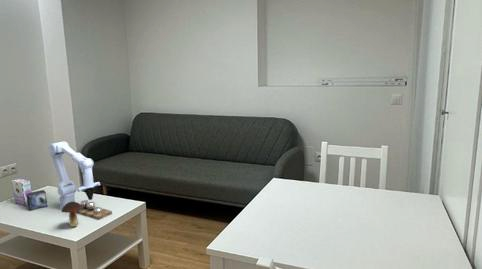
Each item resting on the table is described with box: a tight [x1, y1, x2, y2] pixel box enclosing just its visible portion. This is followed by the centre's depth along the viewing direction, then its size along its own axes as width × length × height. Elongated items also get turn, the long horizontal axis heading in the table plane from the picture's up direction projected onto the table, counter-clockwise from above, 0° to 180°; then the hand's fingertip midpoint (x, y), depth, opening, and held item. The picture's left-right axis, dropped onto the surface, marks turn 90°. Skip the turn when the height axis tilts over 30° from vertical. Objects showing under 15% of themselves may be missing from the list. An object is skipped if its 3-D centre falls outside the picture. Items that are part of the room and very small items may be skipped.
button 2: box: [94, 206, 102, 213], centre depth 217 cm, size 4×4×4 cm
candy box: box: [11, 178, 33, 207], centre depth 241 cm, size 14×6×16 cm, turn 58°
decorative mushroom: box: [61, 201, 83, 228], centre depth 200 cm, size 11×11×15 cm
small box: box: [26, 189, 49, 212], centre depth 232 cm, size 11×6×10 cm, turn 131°
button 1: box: [80, 199, 89, 208], centre depth 223 cm, size 4×4×4 cm
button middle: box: [87, 201, 96, 210], centre depth 220 cm, size 4×4×4 cm
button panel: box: [75, 205, 113, 221], centre depth 221 cm, size 26×10×2 cm, turn 58°
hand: (90, 199), depth 219 cm, fingers closed
